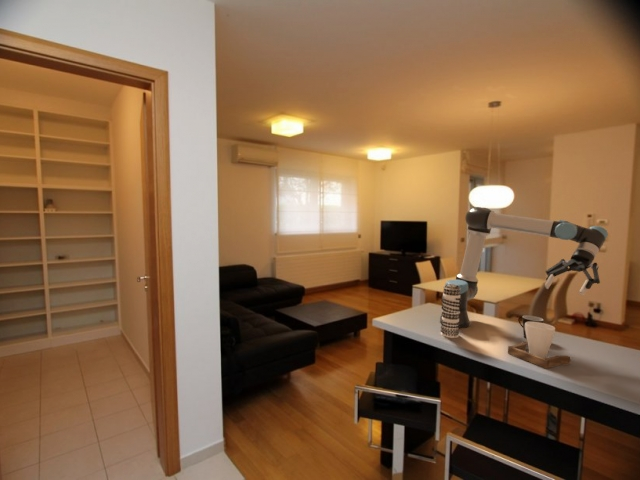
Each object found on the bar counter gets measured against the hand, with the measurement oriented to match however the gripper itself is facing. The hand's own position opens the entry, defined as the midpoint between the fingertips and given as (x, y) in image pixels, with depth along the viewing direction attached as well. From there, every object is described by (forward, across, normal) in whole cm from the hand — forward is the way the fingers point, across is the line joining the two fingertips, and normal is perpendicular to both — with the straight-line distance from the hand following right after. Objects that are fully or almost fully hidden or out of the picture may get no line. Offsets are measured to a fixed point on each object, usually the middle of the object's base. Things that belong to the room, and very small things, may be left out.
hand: (562, 290), depth 139 cm
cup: (+30, 0, -9) cm, 31 cm away
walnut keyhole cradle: (+31, 0, -8) cm, 32 cm away
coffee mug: (+15, +16, -24) cm, 32 cm away
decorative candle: (+40, +34, +1) cm, 52 cm away
